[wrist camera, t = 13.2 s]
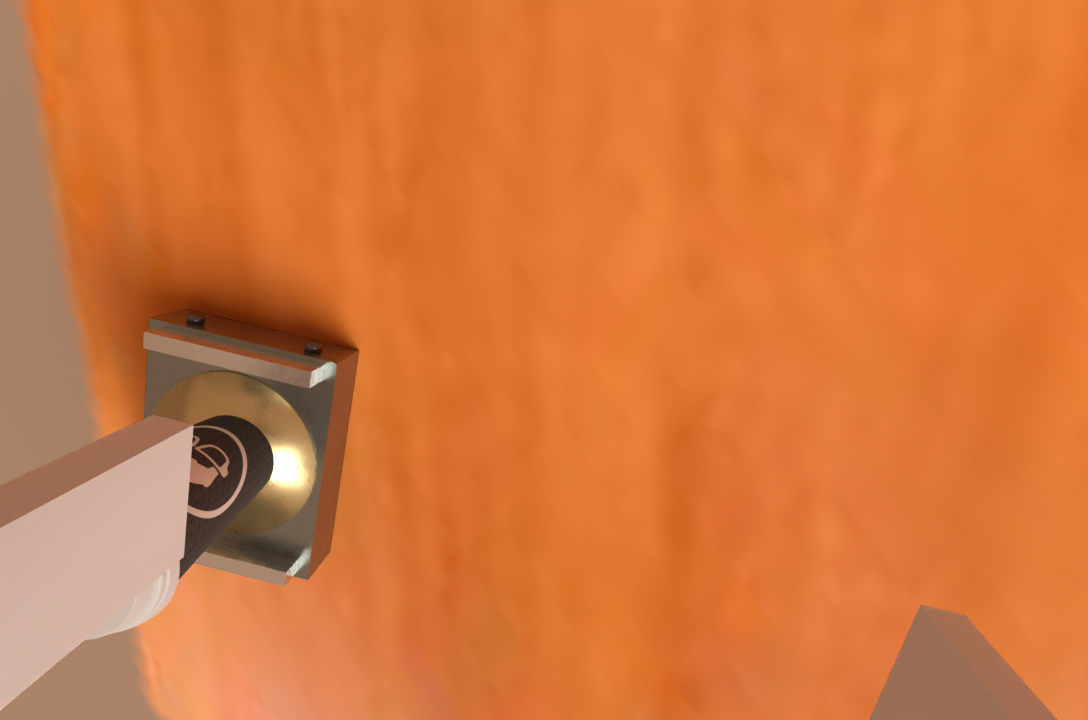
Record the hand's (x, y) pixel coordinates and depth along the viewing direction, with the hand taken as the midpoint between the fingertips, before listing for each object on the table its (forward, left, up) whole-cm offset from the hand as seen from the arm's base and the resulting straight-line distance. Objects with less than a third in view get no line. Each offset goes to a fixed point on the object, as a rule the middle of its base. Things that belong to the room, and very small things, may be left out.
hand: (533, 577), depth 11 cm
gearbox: (+17, -23, -35) cm, 45 cm away
